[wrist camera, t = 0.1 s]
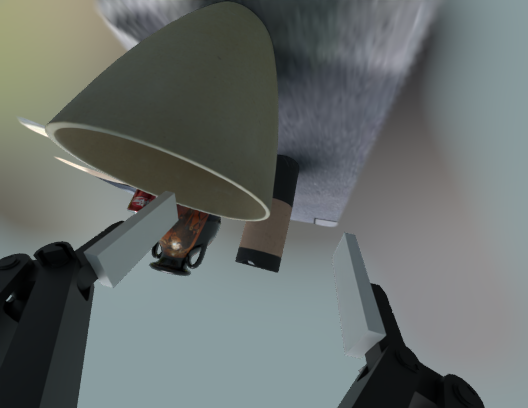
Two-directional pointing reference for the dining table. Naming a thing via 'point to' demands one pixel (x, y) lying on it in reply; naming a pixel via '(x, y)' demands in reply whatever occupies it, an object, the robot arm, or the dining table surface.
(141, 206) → the soda can
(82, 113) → the plant pot
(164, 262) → the amphora vase
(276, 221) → the travel mug
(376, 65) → the dining table surface
